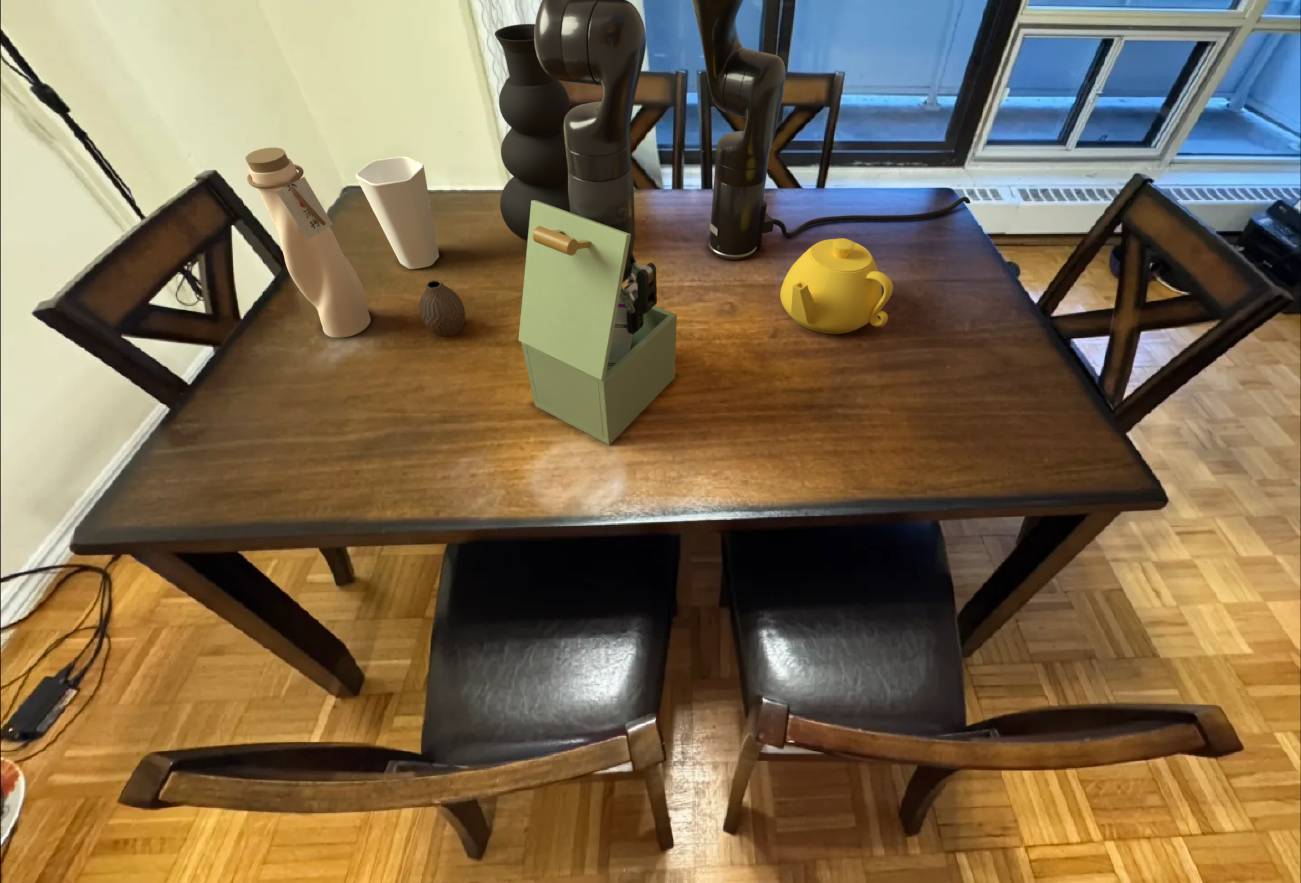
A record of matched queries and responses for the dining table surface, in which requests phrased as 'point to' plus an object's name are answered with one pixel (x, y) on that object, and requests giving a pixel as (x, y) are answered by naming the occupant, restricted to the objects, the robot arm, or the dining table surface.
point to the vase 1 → (441, 309)
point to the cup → (402, 208)
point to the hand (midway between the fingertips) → (610, 320)
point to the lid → (572, 287)
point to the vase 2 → (531, 131)
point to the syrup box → (620, 336)
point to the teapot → (836, 288)
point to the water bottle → (309, 243)
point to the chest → (607, 381)
